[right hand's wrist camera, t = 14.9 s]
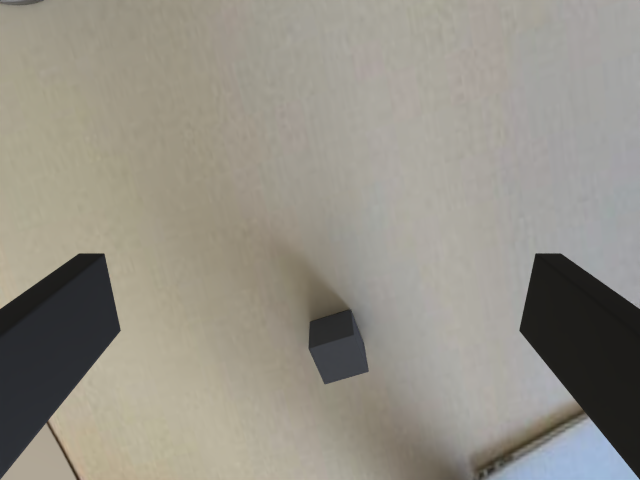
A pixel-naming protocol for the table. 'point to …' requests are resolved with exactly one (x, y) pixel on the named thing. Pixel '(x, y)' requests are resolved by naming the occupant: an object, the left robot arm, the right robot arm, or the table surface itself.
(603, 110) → the table surface
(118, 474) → the table surface
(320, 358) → the grey block
